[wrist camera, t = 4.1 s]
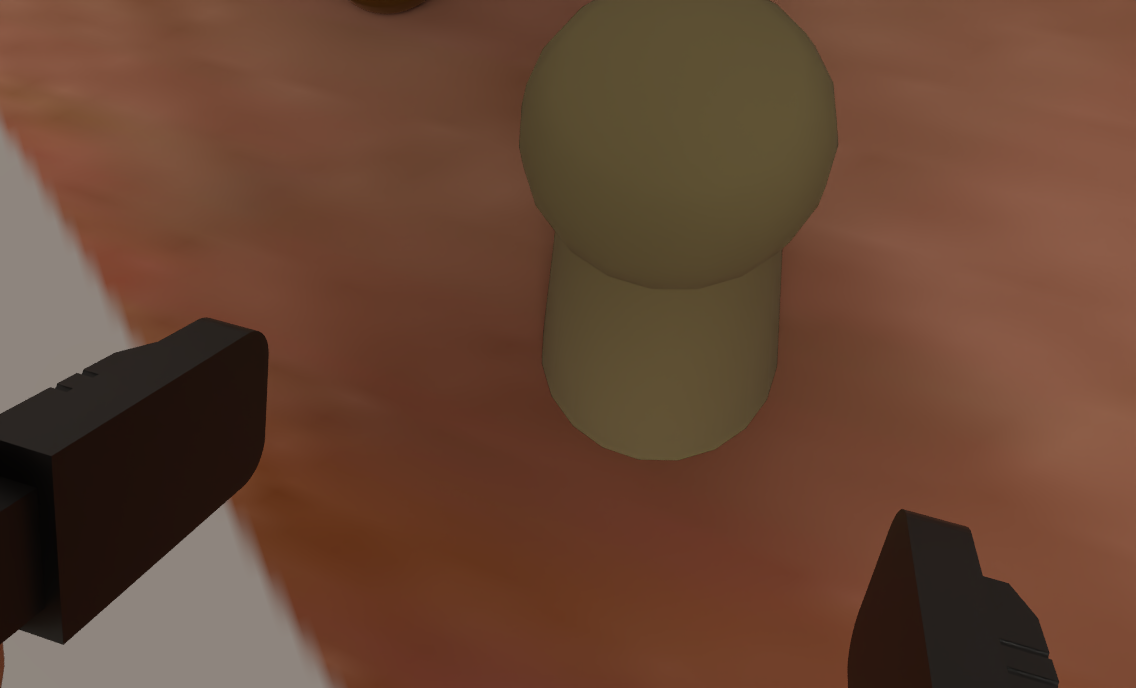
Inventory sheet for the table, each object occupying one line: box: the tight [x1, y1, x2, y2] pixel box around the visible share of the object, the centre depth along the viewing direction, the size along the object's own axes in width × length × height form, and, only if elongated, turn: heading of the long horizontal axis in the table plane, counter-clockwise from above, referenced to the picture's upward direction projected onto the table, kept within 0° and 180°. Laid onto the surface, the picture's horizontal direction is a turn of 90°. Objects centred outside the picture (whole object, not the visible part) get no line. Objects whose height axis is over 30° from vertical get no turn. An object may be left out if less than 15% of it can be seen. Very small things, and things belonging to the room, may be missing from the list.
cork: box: [519, 0, 838, 460], centre depth 19 cm, size 6×6×11 cm
